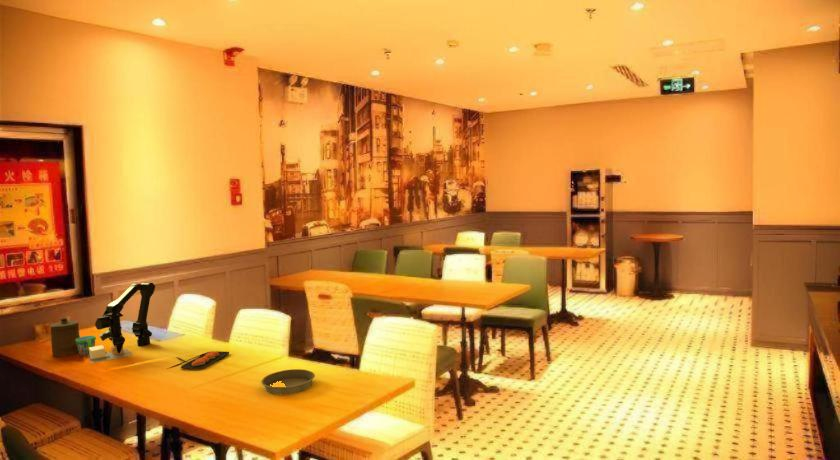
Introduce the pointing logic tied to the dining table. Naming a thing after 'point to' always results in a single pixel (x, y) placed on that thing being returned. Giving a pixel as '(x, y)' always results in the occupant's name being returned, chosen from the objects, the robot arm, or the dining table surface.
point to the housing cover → (96, 352)
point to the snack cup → (85, 344)
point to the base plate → (110, 356)
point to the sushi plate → (203, 360)
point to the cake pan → (289, 381)
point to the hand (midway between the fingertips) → (117, 351)
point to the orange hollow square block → (114, 350)
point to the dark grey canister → (64, 337)
